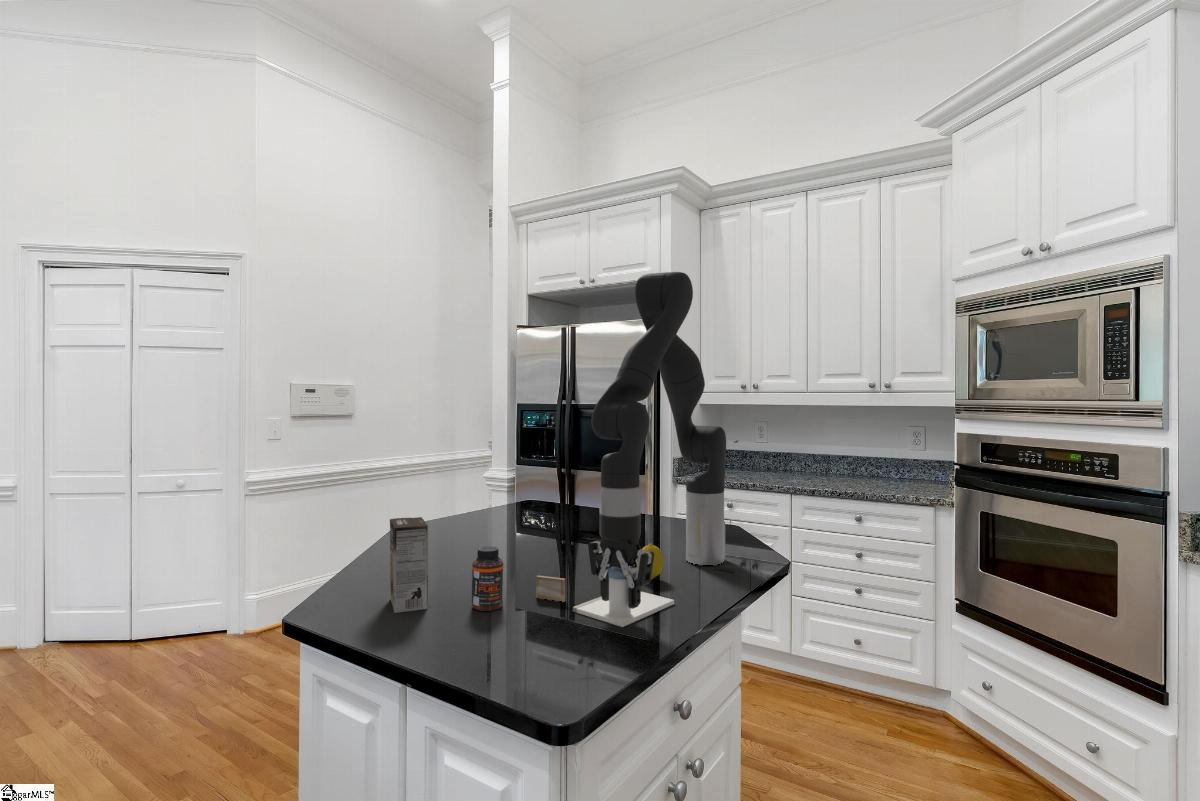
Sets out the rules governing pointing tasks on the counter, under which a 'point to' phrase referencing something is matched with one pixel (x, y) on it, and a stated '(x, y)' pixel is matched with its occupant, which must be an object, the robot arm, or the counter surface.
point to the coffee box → (408, 564)
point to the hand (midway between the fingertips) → (620, 603)
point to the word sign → (550, 588)
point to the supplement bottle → (487, 580)
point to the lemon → (655, 559)
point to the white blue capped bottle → (618, 593)
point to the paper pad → (645, 608)
